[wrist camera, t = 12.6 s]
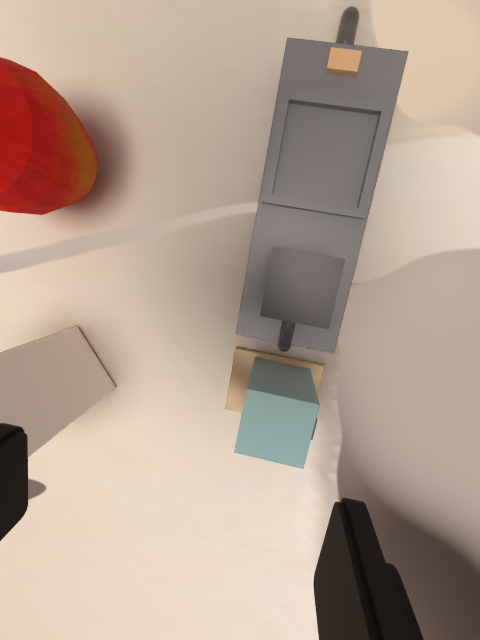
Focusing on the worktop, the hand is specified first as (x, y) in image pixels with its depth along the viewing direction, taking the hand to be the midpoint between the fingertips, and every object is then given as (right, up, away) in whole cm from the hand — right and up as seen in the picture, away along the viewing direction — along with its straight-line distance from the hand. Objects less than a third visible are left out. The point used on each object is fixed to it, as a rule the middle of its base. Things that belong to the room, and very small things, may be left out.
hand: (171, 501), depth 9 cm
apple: (-13, +19, +19) cm, 29 cm away
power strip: (+8, +16, +17) cm, 24 cm away
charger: (+5, -1, +20) cm, 20 cm away
